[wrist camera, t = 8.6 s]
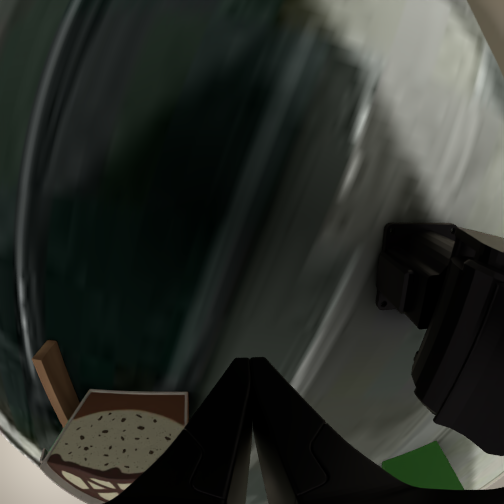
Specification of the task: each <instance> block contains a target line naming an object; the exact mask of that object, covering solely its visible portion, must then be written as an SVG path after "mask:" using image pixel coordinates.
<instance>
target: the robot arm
mask: <svg viewBox="0 0 504 504" xmlns="http://www.w3.org/2000/svg"><path fill="white" fill-rule="evenodd" d="M391 228H393V229H394V230H393V232H392V233H390V229H391ZM452 228H453V230H452V232H451V229H452ZM376 287H377V288H378V291H377V298H376V305H377V307H378V308H379V309H380V310H389V309H397V310H398V311H399V312H400V313H405V314H406V315H407V316H408V317H409V319H410V320H411V321H412V322H413V323H414V324H415V325H416V326H417V327H418V328H419V329H427V331H426V333H425V336H424V338H423V341H422V343H421V346H420V348H419V351H417V352H416V354H415V357H414V364H413V366H412V374H411V375H412V378H413V381H414V384H415V386H416V389H415V391H414V393H415V395H416V396H417V398H418V399H419V400H420V401H421V402H422V404H423V405H424V406H426V407H427V408H428V409H429V410H430V411H431V412H432V413H433V414H434V415H435V417H434V419H433V421H434V423H436V424H439V425H442V426H445V427H448V428H451V429H453V430H455V431H457V432H459V433H461V434H463V435H464V436H466V437H467V438H468V439H470V440H471V441H472V442H474V443H475V444H476V445H477V446H478V447H480V448H481V449H482V450H483V451H484V452H486V453H488V454H493V455H499V456H504V238H502V237H498V236H494V235H490V234H486V233H482V232H477V231H473V230H469V229H465V228H460V227H457V226H456V225H454V224H452V223H388V224H387V225H386V226H385V229H384V238H383V249H382V253H381V254H380V256H379V265H378V274H377V282H376ZM383 301H385V302H384V304H382V305H381V303H382V302H383ZM252 422H253V432H254V438H255V443H256V448H257V452H258V457H259V462H260V467H261V471H262V476H263V480H264V485H265V490H266V494H267V498H268V503H269V504H504V487H502V488H498V489H489V490H448V489H430V488H419V487H415V486H412V485H409V484H406V483H404V482H402V481H400V480H399V479H397V478H395V477H394V476H392V475H391V474H390V473H388V472H387V471H385V470H384V469H382V468H381V467H380V466H378V465H377V464H375V463H374V462H372V461H371V460H370V459H368V458H367V457H366V456H364V455H363V454H361V453H360V452H359V451H358V450H356V449H355V448H354V447H353V446H351V445H350V444H349V443H347V442H346V441H345V440H344V439H343V438H342V437H341V436H340V435H339V434H338V433H337V432H336V431H335V430H334V429H333V428H332V427H331V426H330V425H329V424H328V423H326V422H325V420H324V419H323V418H322V417H321V416H320V415H319V414H318V413H317V412H316V411H315V410H314V409H313V408H312V407H311V406H310V405H309V404H308V403H307V402H306V401H305V400H304V399H303V398H302V397H301V396H300V395H299V394H298V392H297V391H296V390H295V389H294V388H293V387H292V386H291V385H290V384H289V383H288V382H287V381H286V380H285V379H284V378H283V376H282V375H281V374H280V373H279V372H278V371H277V370H276V369H275V368H274V367H273V366H272V365H271V363H270V362H269V361H268V360H267V359H266V358H265V357H252V358H251V359H249V358H235V359H234V360H233V361H232V363H231V364H230V366H229V367H228V368H227V370H226V371H225V373H224V374H223V375H222V377H221V378H220V380H219V381H218V382H217V384H216V385H215V387H214V388H213V389H212V391H211V392H210V393H209V395H208V396H207V398H206V399H205V400H204V402H203V403H202V404H201V406H200V407H199V408H198V410H197V411H196V412H195V414H194V415H193V416H192V418H191V419H190V420H189V422H188V423H187V424H186V426H185V427H184V429H183V430H182V431H181V432H180V434H179V435H178V436H177V438H176V439H175V440H174V441H173V442H172V444H171V445H170V446H169V447H168V448H167V450H166V451H165V452H164V453H163V454H162V455H161V456H160V457H159V458H158V459H157V460H156V461H155V462H154V463H153V464H152V465H151V466H150V467H149V468H148V469H147V470H146V471H144V472H143V473H142V474H141V475H140V476H139V477H138V478H137V479H136V480H135V481H134V482H133V483H131V484H130V485H129V486H128V487H127V488H126V489H125V490H124V491H122V492H121V493H120V494H119V495H118V496H116V497H115V498H113V499H111V500H109V501H107V502H105V503H103V504H245V503H246V493H247V483H248V474H249V464H250V454H251V443H252Z"/></svg>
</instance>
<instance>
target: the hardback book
mask: <svg viewBox="0 0 504 504" xmlns="http://www.w3.org/2000/svg"><path fill="white" fill-rule="evenodd" d="M382 469H384V470H385V471H387V472H388V473H390V474H391V475H392V476H394V477H395V478H397V479H399V480H400V481H402V482H404V483H406V484H409V485H412V486H415V487H419V488H430V489H448V490H464V488H463V486H462V485H461V483H460V481H459V479H458V477H457V476H456V474H455V472H454V470H453V469H452V467H451V465H450V463H449V462H448V460H447V458H446V456H445V455H444V453H443V451H442V449H441V448H440V446H439V444H438V443H437V441H434V442H432V443H430V444H428V445H425V446H423V447H420V448H418V449H416V450H413V451H411V452H408V453H405V454H403V455H400V456H397V457H395V458H392V459H389V460H386V461H383V462H382Z"/></svg>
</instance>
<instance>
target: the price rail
mask: <svg viewBox="0 0 504 504" xmlns="http://www.w3.org/2000/svg"><path fill="white" fill-rule="evenodd" d="M32 360H33V363H34V365H35V368H36V370H37V373H38V375H39V378H40V380H41V382H42V384H43V387H44V389H45V391H46V393H47V396H48V398H49V400H50V402H51V404H52V406H53V408H54V410H55V412H56V414H57V416H58V418H59V420H60V422H61V424H62V426H63V428H64V427H65V425H66V424H67V422H68V421H69V419H70V418H71V416H72V415H73V413H74V412H75V410H76V409H77V407H78V406H79V404H80V402H79V400H78V397H77V395H76V392H75V390H74V388H73V385H72V383H71V380H70V377H69V375H68V372H67V369H66V367H65V364H64V361H63V358H62V355H61V353H60V350H59V347H58V344H57V341H52V340H47V341H46V343H45V344H44V345H43V346H42V347H41V349H40V350H39V351H38V352H37V353H36V355H35V356H34V357H33V358H32Z"/></svg>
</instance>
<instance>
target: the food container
mask: <svg viewBox="0 0 504 504" xmlns="http://www.w3.org/2000/svg"><path fill="white" fill-rule="evenodd" d="M188 422H189V396H188V392H139V391H113V390H97V389H89V391H88V392H87V394H86V395H85V397H84V398H83V400H82V401H81V403H80V404H79V406H78V407H77V409H76V410H75V412H74V413H73V415H72V416H71V418H70V419H69V421H68V422H67V424H66V425H65V427H64V428H63V430H62V431H61V433H60V435H59V436H58V438H57V439H56V441H55V442H54V444H53V446H52V447H51V449H50V450H49V452H47V450H46V449H45V448H43V451H42V455H41V459H40V462H41V465H40V469H41V470H42V471H43V472H44V473H45V475H46V476H47V477H48V478H49V479H51V480H52V481H53V482H54V483H55V484H56V485H58V486H59V487H60V488H62V489H63V490H65V491H66V492H68V493H69V494H71V495H72V496H74V497H76V498H77V499H79V500H81V501H83V502H85V503H87V504H103V503H105V502H107V501H109V500H111V499H113V498H115V497H116V496H118V495H119V494H120V493H121V492H122V491H124V490H125V489H126V488H127V487H128V486H129V485H130V484H131V483H133V482H134V481H135V480H136V479H137V478H138V477H139V476H140V475H141V474H142V473H143V472H144V471H146V470H147V469H148V468H149V467H150V466H151V465H152V464H153V463H154V462H155V461H156V460H157V459H158V458H159V457H160V456H161V455H162V454H163V453H164V452H165V451H166V450H167V448H168V447H169V446H170V445H171V444H172V442H173V441H174V440H175V439H176V438H177V436H178V435H179V434H180V432H181V431H182V430H183V429H184V427H185V426H186V424H187V423H188Z"/></svg>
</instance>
